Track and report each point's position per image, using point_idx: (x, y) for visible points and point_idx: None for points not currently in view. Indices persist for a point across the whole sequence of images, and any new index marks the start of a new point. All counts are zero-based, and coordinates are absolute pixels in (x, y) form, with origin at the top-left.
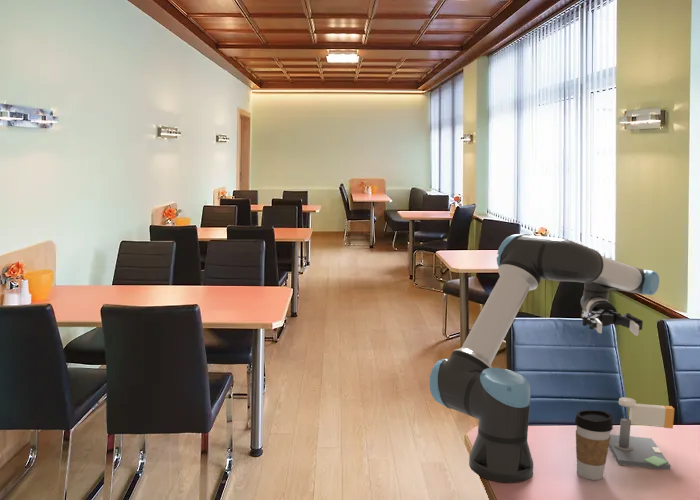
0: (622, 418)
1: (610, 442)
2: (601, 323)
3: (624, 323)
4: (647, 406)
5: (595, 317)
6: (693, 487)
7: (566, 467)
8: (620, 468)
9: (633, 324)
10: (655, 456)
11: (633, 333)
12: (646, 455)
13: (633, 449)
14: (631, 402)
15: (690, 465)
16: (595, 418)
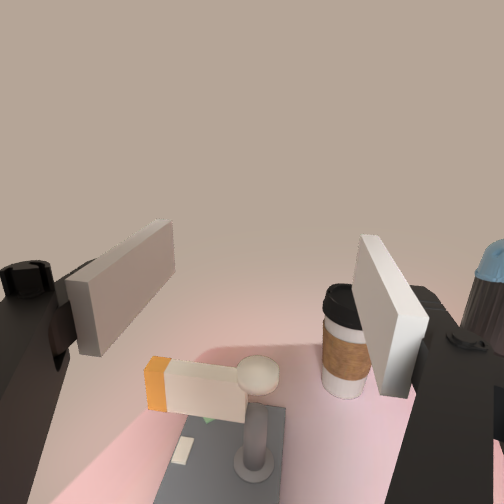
0: (260, 421)
1: (276, 489)
2: (365, 235)
3: (35, 419)
4: (211, 366)
5: (428, 362)
6: (196, 360)
7: (380, 400)
8: (285, 402)
9: (146, 245)
10: (206, 418)
11: (159, 287)
12: (220, 427)
13: (234, 453)
14: (254, 357)
15: (142, 419)
16: (353, 300)
